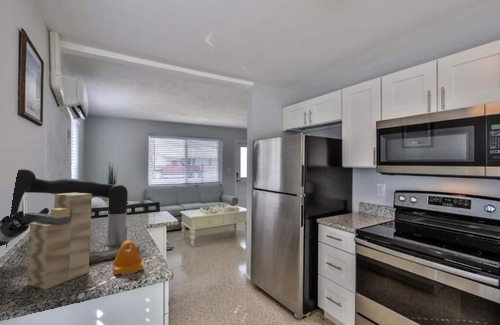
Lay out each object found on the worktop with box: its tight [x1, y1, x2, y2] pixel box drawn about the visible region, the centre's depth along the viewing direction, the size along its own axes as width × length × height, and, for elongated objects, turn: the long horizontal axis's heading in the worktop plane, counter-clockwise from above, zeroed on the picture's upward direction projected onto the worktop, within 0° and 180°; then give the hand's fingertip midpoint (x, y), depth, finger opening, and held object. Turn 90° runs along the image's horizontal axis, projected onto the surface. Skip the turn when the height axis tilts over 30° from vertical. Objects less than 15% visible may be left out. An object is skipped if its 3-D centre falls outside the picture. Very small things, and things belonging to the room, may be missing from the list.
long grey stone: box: [89, 246, 140, 265], centre depth 118 cm, size 35×5×10 cm
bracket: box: [112, 239, 144, 276], centre depth 106 cm, size 11×7×12 cm, turn 123°
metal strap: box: [24, 208, 70, 225], centre depth 95 cm, size 20×4×6 cm, turn 70°
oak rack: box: [26, 193, 93, 290], centre depth 98 cm, size 10×16×32 cm, turn 160°
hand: (35, 211), depth 97 cm, fingers open, 8 cm apart
